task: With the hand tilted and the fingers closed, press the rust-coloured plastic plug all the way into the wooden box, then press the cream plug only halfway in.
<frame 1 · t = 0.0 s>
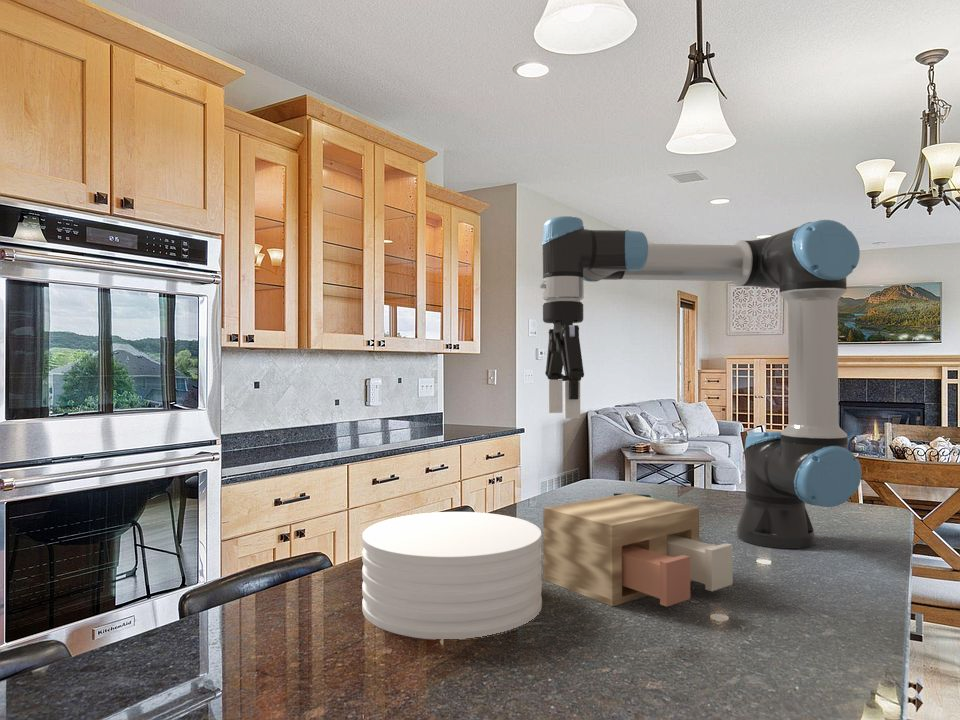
hand: (563, 415, 123), 28 cm above the kitchen island, tool pointing down, fingers open, 13 cm apart
plate stack: (452, 605, 104), on the kitchen island
wooden box: (621, 579, 115), on the kitchen island
cream plug: (677, 555, 112), point 5 cm above the kitchen island, slide at 0.0 cm
flower pot: (632, 540, 142), on the kitchen island
rust plug: (633, 567, 106), point 5 cm above the kitchen island, slide at 0.0 cm
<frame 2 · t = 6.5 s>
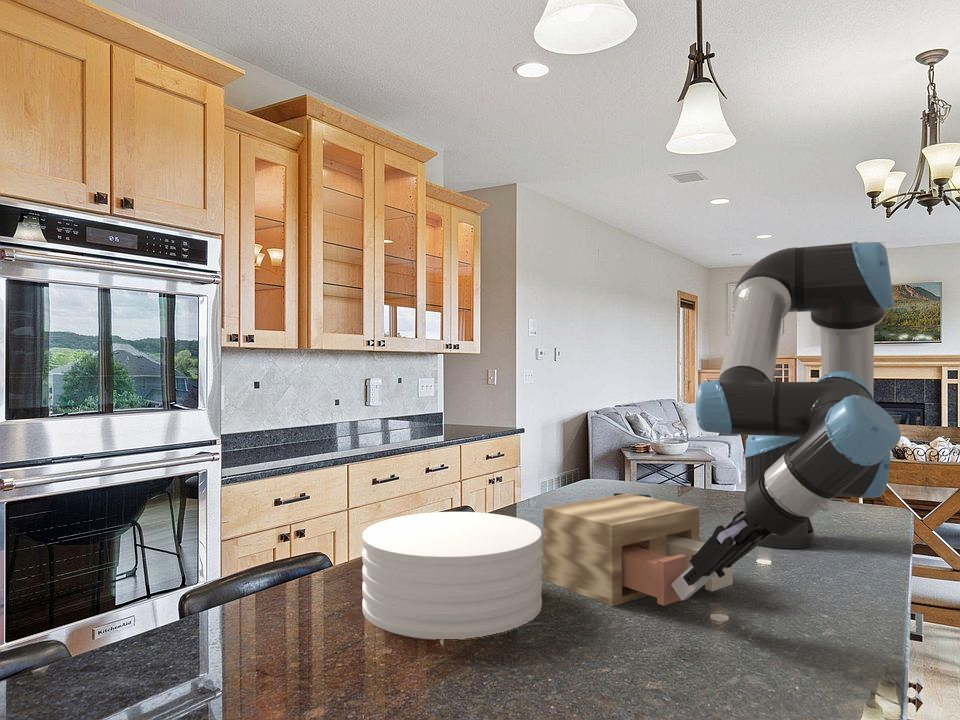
hand: (679, 591, 98), 4 cm above the kitchen island, tool tilted 45°, fingers closed
rust plug: (631, 566, 106), point 5 cm above the kitchen island, slide at 0.5 cm, touching gripper
everything else where it was.
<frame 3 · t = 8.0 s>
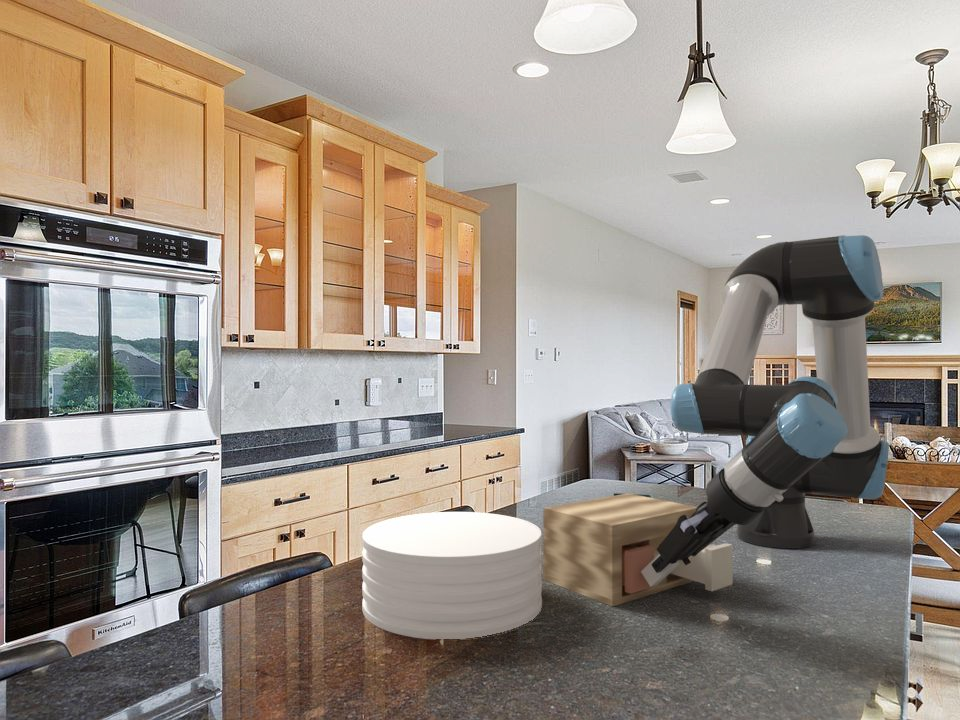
hand: (648, 578, 103), 4 cm above the kitchen island, tool tilted 45°, fingers closed
rust plug: (602, 557, 111), point 5 cm above the kitchen island, slide at 6.8 cm, touching gripper
everything else where it was.
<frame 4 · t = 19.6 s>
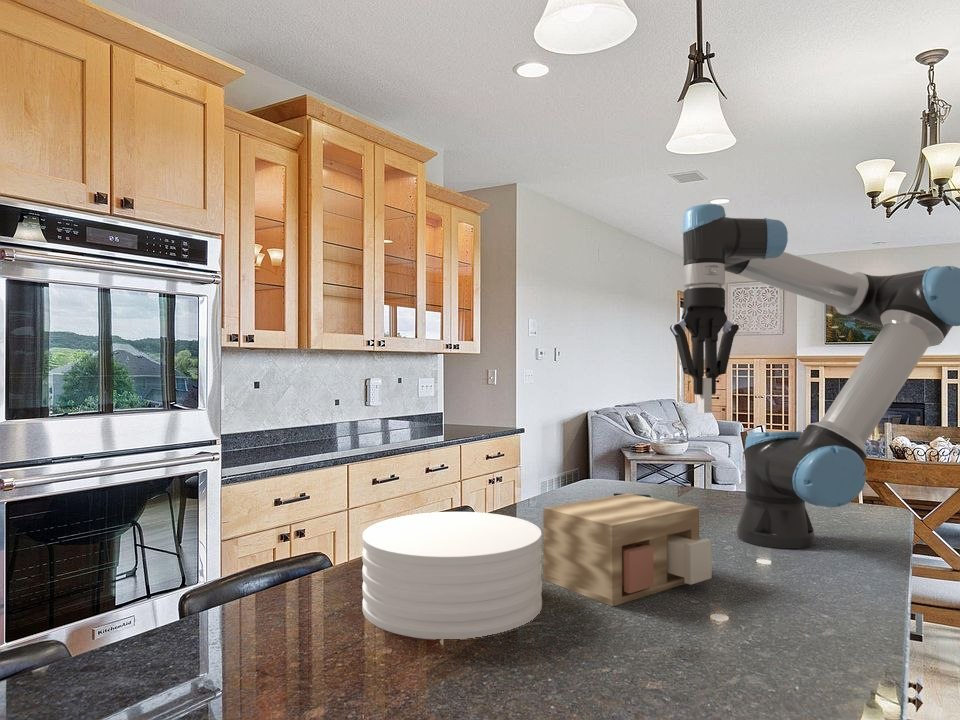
hand: (704, 412, 125), 28 cm above the kitchen island, tool pointing down, fingers closed
cream plug: (658, 550, 116), point 5 cm above the kitchen island, slide at 3.9 cm
rust plug: (601, 557, 112), point 5 cm above the kitchen island, slide at 7.0 cm
everything else where it was.
at the end: rust plug slide at 7.0 cm; cream plug slide at 3.9 cm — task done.
